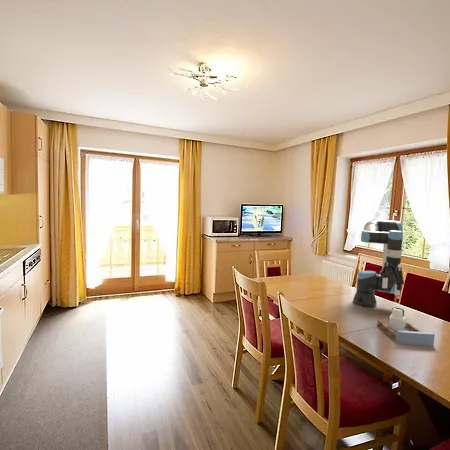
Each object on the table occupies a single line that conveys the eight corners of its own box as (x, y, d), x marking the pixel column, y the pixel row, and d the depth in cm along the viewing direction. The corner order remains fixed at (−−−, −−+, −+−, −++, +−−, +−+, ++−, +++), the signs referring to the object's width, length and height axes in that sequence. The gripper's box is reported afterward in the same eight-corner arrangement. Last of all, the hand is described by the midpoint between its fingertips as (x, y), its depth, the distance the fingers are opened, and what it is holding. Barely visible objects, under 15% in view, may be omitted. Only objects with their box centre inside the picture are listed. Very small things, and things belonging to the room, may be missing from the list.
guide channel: (377, 325, 165) (377, 320, 165) (407, 327, 164) (408, 322, 164) (396, 341, 145) (396, 336, 145) (430, 344, 144) (431, 338, 144)
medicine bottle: (390, 325, 165) (392, 305, 164) (404, 329, 161) (406, 308, 160) (388, 329, 160) (389, 308, 159) (402, 333, 155) (404, 312, 154)
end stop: (396, 341, 145) (397, 330, 144) (430, 344, 144) (432, 332, 143) (398, 343, 143) (399, 332, 142) (433, 345, 142) (434, 334, 141)
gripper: (376, 252, 180) (374, 285, 182) (399, 260, 155) (396, 298, 157) (388, 253, 180) (385, 285, 182) (413, 261, 155) (409, 298, 157)
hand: (390, 291), depth 170 cm, fingers open, 13 cm apart
